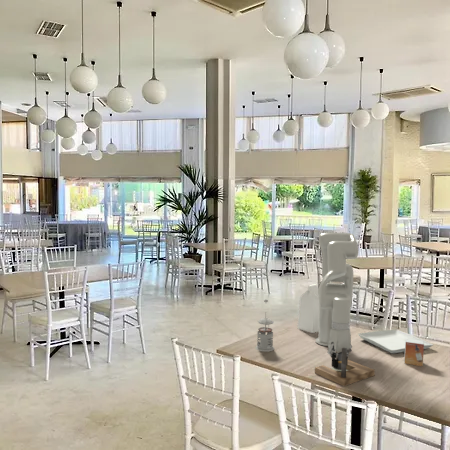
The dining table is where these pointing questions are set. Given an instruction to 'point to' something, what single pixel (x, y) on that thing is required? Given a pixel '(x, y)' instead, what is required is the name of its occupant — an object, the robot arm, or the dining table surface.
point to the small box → (414, 352)
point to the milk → (309, 310)
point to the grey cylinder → (339, 360)
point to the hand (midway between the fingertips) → (339, 365)
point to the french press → (265, 340)
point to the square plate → (391, 340)
